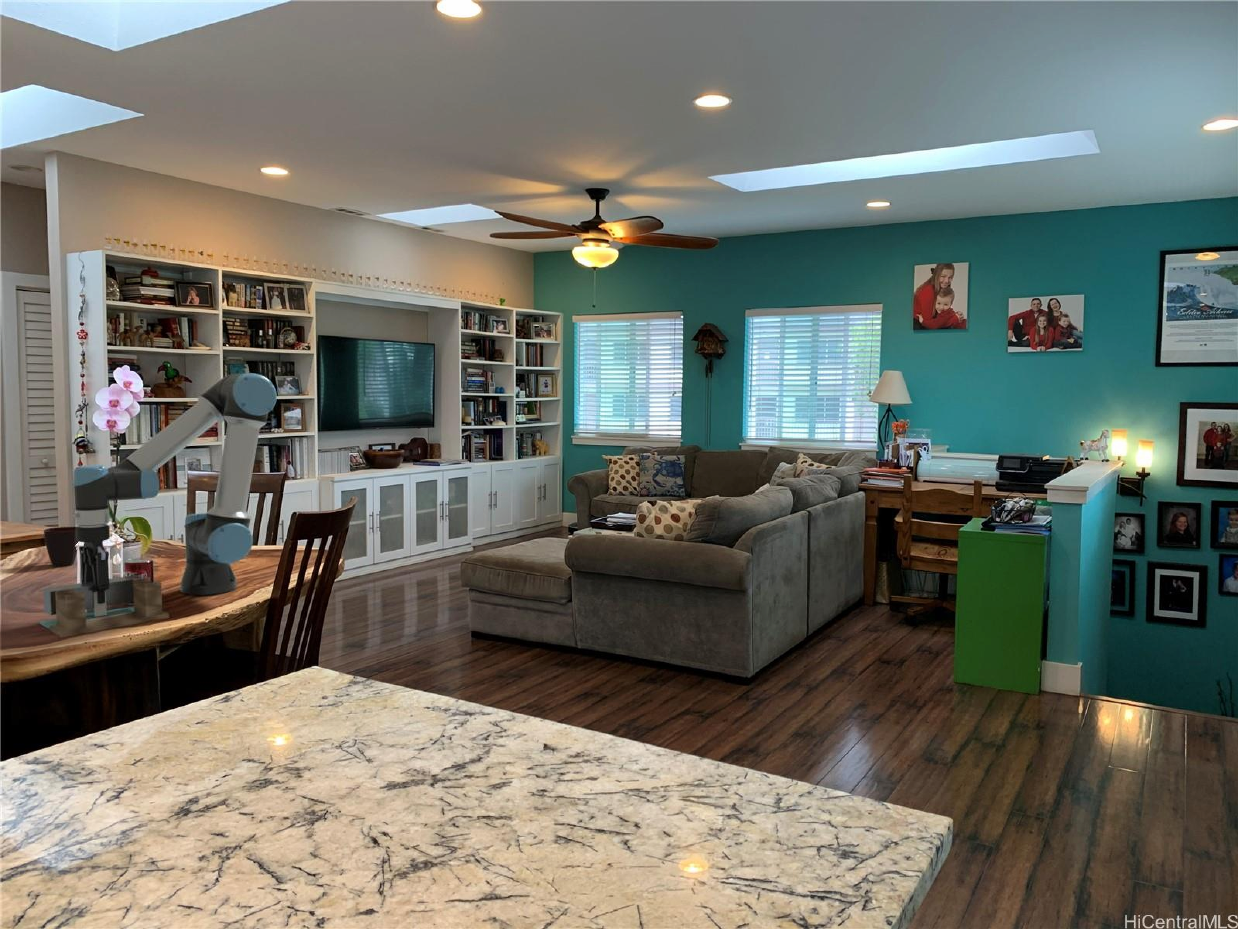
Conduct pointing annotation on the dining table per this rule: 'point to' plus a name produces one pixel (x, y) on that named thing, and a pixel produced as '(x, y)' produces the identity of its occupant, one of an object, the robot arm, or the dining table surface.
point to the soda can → (139, 569)
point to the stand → (75, 622)
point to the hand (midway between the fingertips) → (96, 613)
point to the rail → (115, 594)
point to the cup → (61, 545)
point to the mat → (92, 615)
